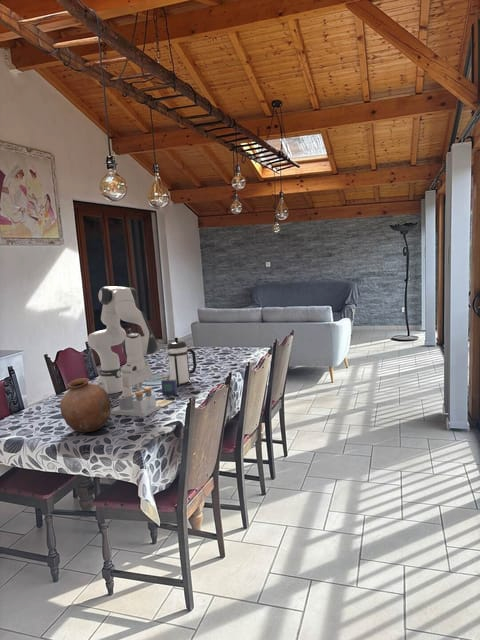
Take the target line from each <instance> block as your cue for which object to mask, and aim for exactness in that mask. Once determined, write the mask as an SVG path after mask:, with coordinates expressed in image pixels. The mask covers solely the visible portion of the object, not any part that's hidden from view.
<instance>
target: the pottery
mask: <svg viewBox="0 0 480 640" xmlns="http://www.w3.org/2000/svg"><path fill="white" fill-rule="evenodd" d="M89 382H90V379H89V378H87V377H82V378H81V377H80V378H77V379H73V380H72V381H70V382H69V383H68V384H67V387H68V388H69V389H68V390H67V391H66V392H65V393H64V395H63V396H62V398H61V400H60V405H59V407H60V413H61V417H62V418H63V420H64V421H65V423H66V425H67V426H69V428H71V429H72V430H73V431H75V432H77V433H78V432H79V433H90V432H91V433H92V432H95V431H98V430H99V429H101V428H102V427H104V426H106V424H107V422H108V421H109V419H110V418H111V415H112V414H111V410H112V409H111V408H112V406H111V399H110V396H109V394H107V392H106V391H105V390H104V389H103V388H101V387H100V386H97V385H94V384H93V383H89Z"/></svg>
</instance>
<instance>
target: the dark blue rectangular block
mask: <svg viewBox="0 0 480 640" xmlns="http://www.w3.org/2000/svg"><path fill="white" fill-rule="evenodd" d="M160 381H161V389H162V390H161V393H162V395H163V396H176V395H178V387H177V384H176V379H172V380H170V376H167V377H166V378H163V379H161V380H160Z"/></svg>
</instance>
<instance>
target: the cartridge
mask: <svg viewBox="0 0 480 640" xmlns="http://www.w3.org/2000/svg"><path fill="white" fill-rule="evenodd" d="M122 390H123V391H122V395H123V398H129V397H133V386H131V387H124V386H123V383H122Z"/></svg>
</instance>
